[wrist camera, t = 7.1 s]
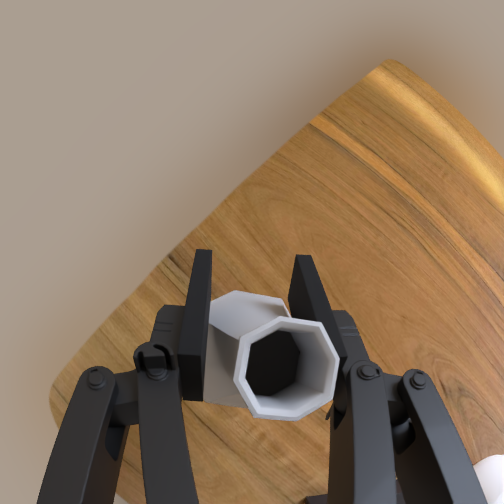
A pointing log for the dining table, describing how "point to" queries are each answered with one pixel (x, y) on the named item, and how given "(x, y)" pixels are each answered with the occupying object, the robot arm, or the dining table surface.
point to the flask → (267, 358)
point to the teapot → (491, 478)
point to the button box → (320, 501)
